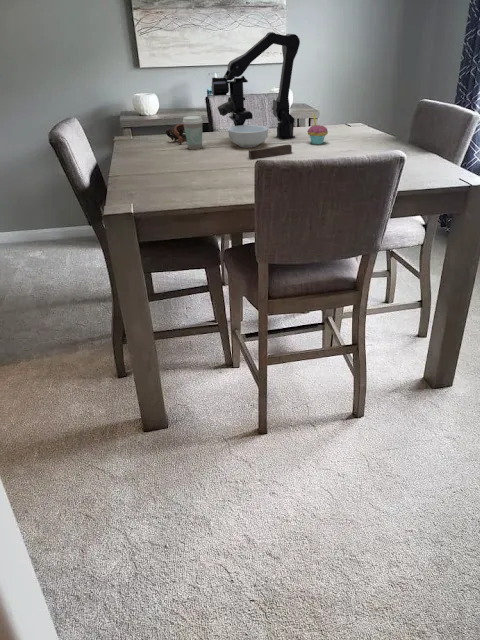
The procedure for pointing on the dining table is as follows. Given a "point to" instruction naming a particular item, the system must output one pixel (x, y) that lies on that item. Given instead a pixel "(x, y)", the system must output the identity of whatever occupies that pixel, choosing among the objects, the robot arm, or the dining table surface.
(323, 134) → the cupcake
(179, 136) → the brown irregular piece
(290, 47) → the robot arm
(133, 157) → the dining table surface
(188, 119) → the coffee cup
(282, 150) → the rail
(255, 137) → the cereal bowl
